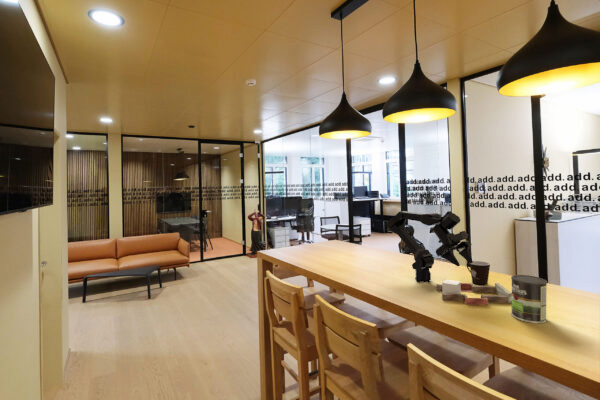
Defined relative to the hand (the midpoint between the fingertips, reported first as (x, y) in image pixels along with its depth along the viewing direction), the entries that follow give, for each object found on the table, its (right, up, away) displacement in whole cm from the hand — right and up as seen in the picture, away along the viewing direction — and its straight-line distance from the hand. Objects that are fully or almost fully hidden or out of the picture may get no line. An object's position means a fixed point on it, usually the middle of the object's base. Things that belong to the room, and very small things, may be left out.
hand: (465, 264), depth 135 cm
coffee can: (+10, -14, -24) cm, 30 cm away
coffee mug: (+15, -12, +15) cm, 25 cm away
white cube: (-6, -14, 0) cm, 15 cm away
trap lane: (+1, -13, -2) cm, 14 cm away
